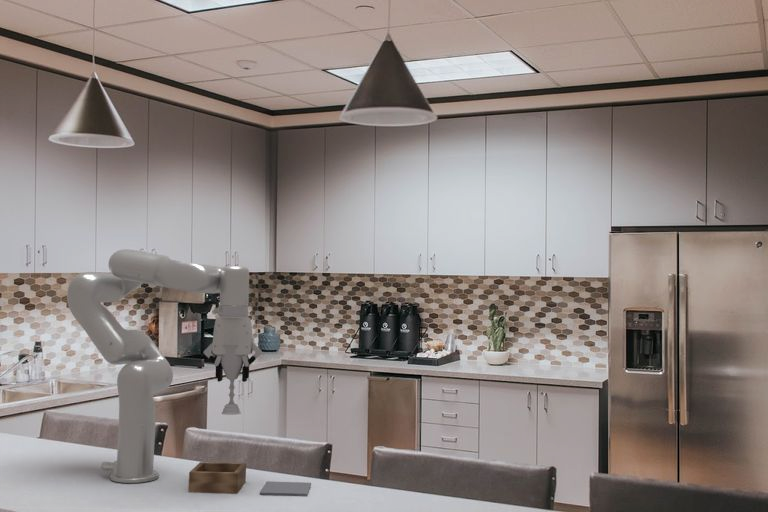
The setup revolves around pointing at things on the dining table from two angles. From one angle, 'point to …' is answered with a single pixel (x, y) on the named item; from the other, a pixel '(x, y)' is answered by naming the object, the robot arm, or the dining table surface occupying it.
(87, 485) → the dining table surface
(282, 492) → the coaster
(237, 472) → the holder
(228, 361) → the chalice
